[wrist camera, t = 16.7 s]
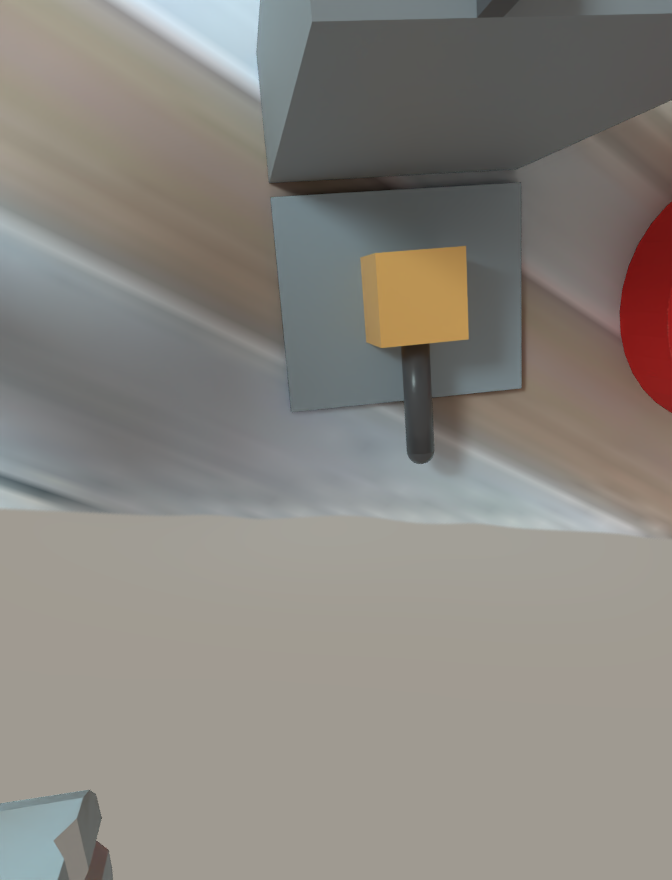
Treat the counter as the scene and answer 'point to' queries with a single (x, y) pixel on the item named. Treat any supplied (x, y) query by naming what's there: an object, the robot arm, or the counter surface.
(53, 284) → the counter surface
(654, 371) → the toy clock
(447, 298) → the tan handled block
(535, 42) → the stand
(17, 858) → the robot arm
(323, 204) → the mat
